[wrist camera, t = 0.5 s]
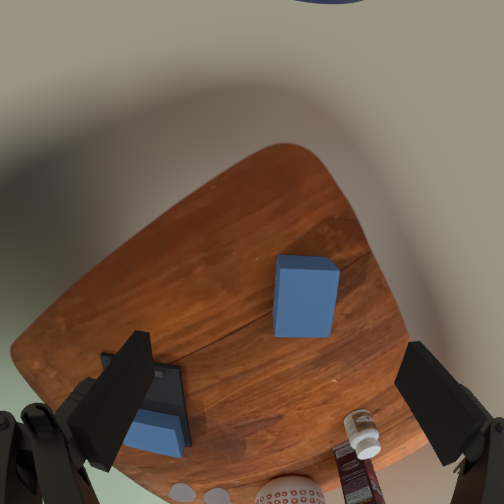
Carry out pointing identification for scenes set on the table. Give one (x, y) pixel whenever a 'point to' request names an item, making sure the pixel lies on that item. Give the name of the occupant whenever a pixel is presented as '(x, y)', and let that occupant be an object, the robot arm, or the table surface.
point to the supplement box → (357, 477)
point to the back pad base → (164, 394)
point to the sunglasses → (181, 492)
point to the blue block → (304, 296)
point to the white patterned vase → (290, 491)
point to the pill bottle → (362, 433)
